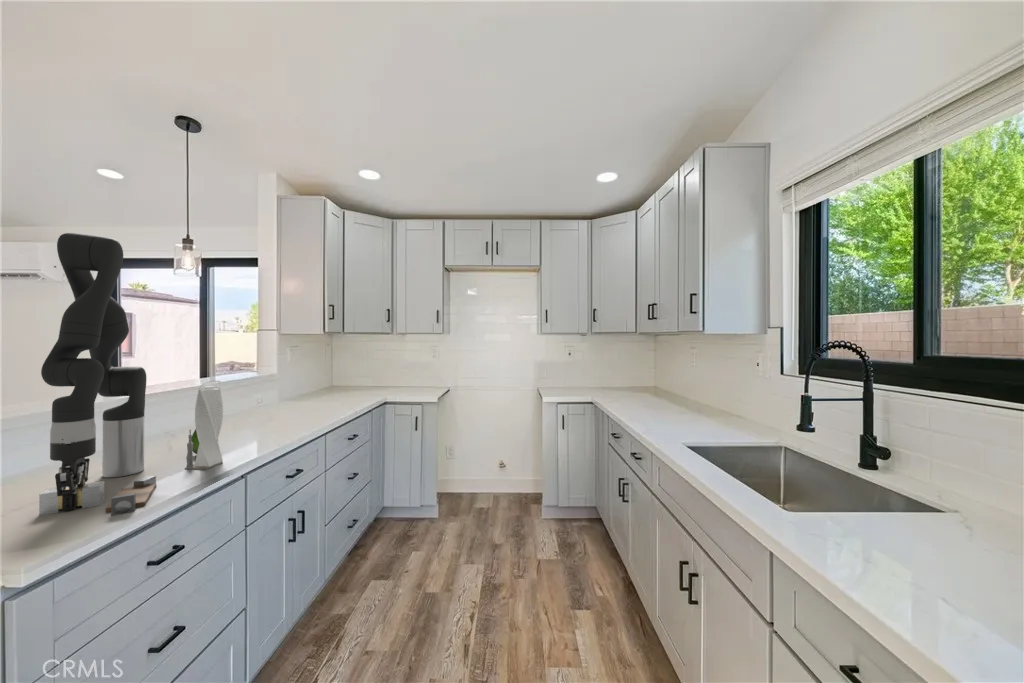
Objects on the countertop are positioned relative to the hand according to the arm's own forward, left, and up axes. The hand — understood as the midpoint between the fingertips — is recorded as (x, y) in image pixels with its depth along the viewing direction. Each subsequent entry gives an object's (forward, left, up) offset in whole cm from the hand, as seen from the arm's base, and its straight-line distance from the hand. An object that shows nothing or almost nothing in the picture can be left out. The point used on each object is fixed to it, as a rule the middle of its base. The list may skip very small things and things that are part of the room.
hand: (73, 505), depth 96 cm
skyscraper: (-22, +25, -1) cm, 33 cm away
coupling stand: (+1, +11, 0) cm, 11 cm away
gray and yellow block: (0, 0, 0) cm, 0 cm away
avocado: (-38, +23, -1) cm, 44 cm away
